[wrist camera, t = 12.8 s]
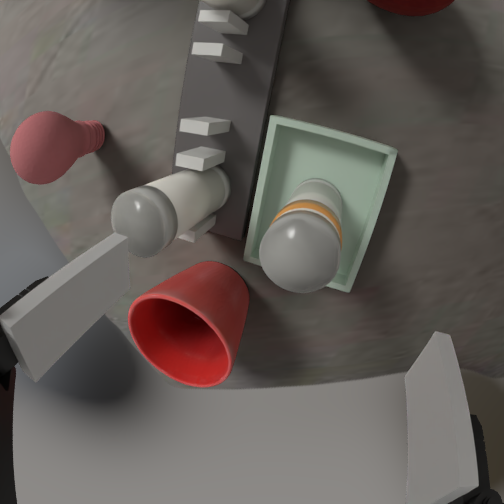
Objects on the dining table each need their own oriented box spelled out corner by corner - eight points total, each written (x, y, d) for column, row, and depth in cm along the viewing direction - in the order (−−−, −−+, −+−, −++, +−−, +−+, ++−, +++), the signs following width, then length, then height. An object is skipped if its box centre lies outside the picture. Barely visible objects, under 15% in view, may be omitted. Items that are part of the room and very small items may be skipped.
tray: (277, 115, 25) (270, 115, 23) (393, 146, 23) (397, 150, 21) (250, 249, 31) (242, 260, 29) (349, 279, 29) (349, 293, 27)
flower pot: (182, 322, 38) (143, 373, 30) (168, 242, 34) (114, 286, 25) (263, 336, 35) (236, 399, 27) (261, 251, 31) (225, 306, 22)
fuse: (190, 158, 28) (111, 184, 18) (235, 168, 27) (169, 200, 17) (185, 202, 30) (111, 245, 20) (227, 215, 29) (164, 266, 19)
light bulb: (131, 120, 29) (41, 136, 18) (109, 175, 32) (28, 208, 22) (91, 95, 29) (5, 105, 18) (73, 146, 32) (-5, 171, 22)
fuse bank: (213, -35, 19) (187, -56, 14) (296, -33, 18) (283, -60, 13) (173, 216, 32) (143, 235, 27) (244, 236, 31) (223, 261, 26)
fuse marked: (296, 171, 26) (266, 207, 16) (349, 185, 25) (352, 231, 15) (285, 220, 28) (251, 280, 18) (335, 234, 27) (327, 302, 18)
